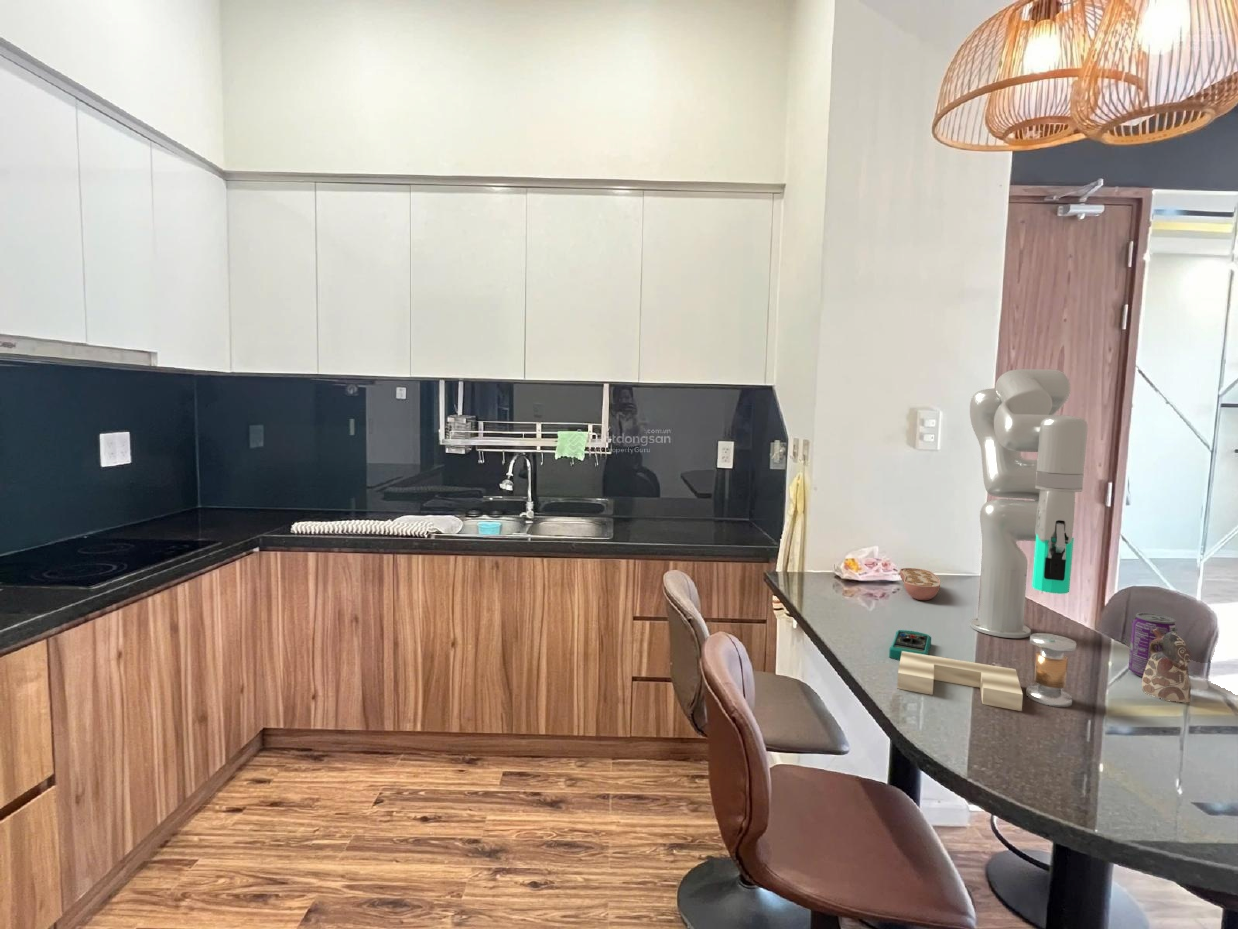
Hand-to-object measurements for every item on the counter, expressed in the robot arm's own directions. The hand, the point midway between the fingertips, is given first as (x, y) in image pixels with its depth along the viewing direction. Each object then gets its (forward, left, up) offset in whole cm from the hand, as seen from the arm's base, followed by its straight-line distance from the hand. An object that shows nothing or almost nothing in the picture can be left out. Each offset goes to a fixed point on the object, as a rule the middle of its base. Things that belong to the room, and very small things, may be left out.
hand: (1051, 574), depth 128 cm
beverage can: (-13, +20, -21) cm, 32 cm away
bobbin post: (+10, 0, -21) cm, 23 cm away
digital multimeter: (-5, -24, -21) cm, 33 cm away
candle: (0, 0, -3) cm, 3 cm away
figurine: (-3, +20, -21) cm, 29 cm away
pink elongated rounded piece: (-59, -24, -21) cm, 67 cm away
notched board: (+12, -15, -21) cm, 29 cm away
